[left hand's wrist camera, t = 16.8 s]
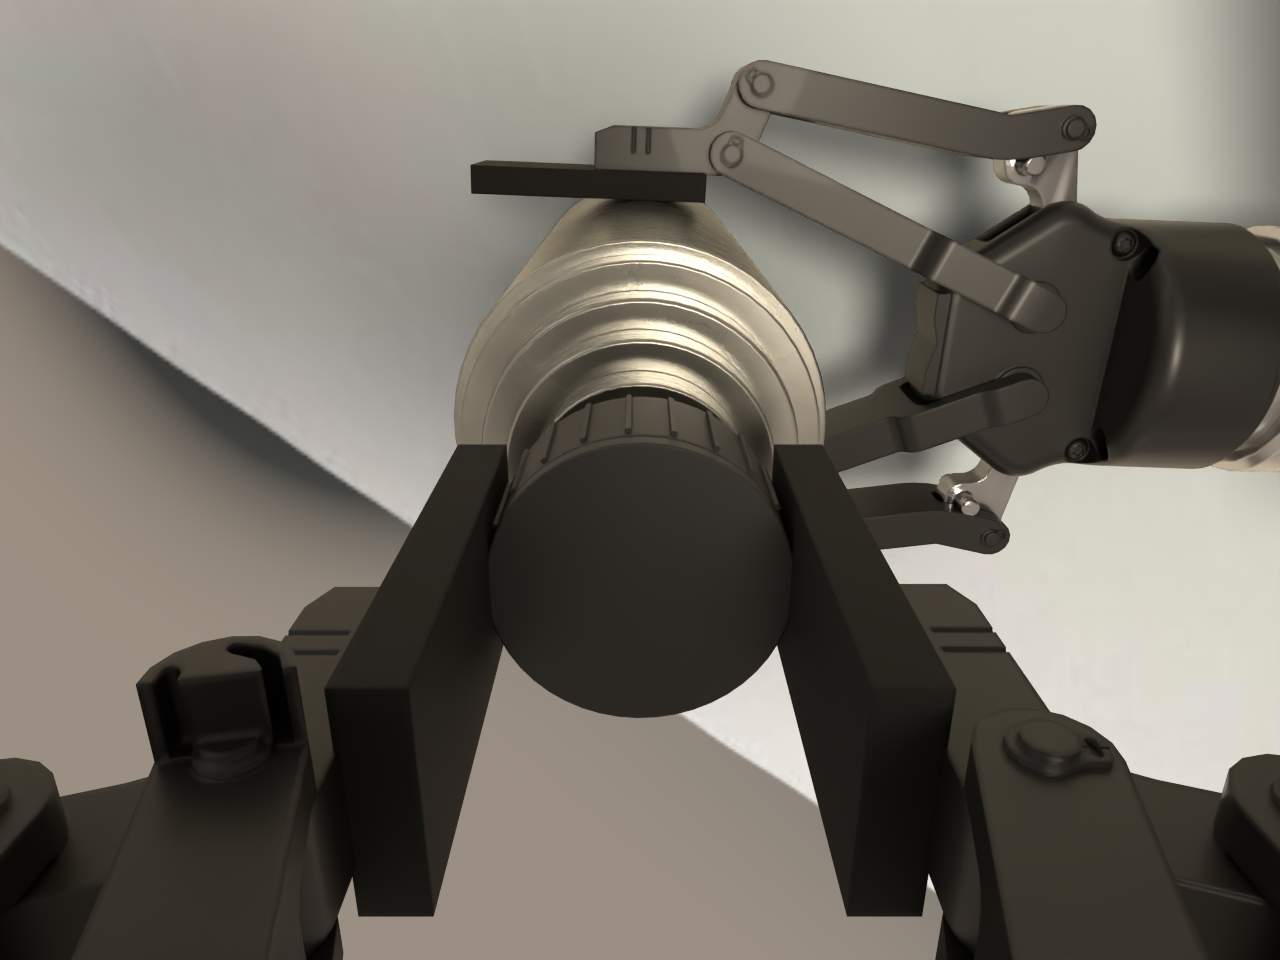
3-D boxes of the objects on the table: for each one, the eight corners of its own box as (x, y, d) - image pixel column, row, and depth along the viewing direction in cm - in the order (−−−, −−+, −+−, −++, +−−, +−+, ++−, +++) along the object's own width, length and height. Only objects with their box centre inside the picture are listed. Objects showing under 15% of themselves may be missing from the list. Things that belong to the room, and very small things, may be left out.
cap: (822, 571, 15) (851, 642, 13) (589, 682, 16) (581, 765, 14) (698, 340, 14) (709, 380, 11) (449, 474, 14) (418, 534, 12)
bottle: (512, 348, 35) (317, 706, 14) (574, 148, 33) (451, 213, 11) (698, 412, 36) (782, 840, 15) (774, 223, 34) (1008, 415, 12)
